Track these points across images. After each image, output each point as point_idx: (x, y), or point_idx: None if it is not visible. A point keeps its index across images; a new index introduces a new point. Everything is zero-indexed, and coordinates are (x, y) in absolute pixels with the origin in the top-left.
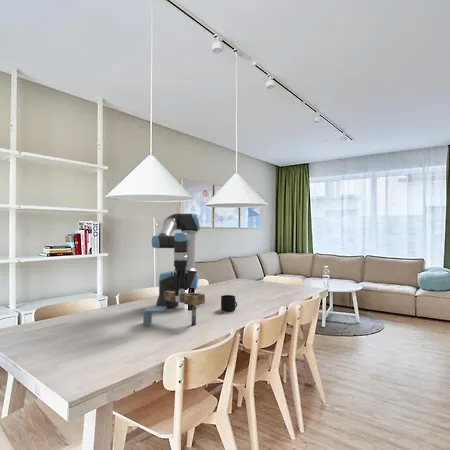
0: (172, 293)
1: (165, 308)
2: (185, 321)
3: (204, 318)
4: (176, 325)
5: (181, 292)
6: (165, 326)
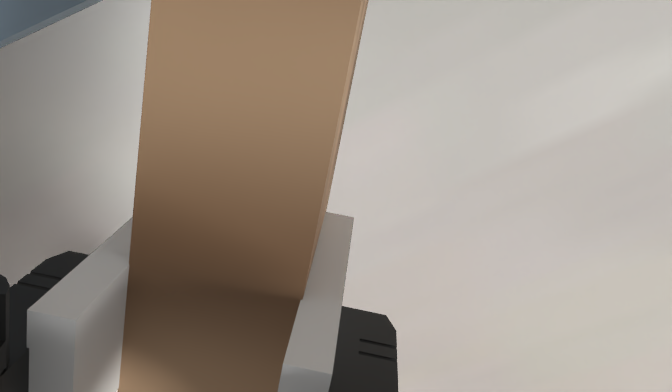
0: (155, 99)
1: (58, 17)
2: (360, 193)
3: (562, 340)
4: None
5: (272, 359)
6: (77, 72)
